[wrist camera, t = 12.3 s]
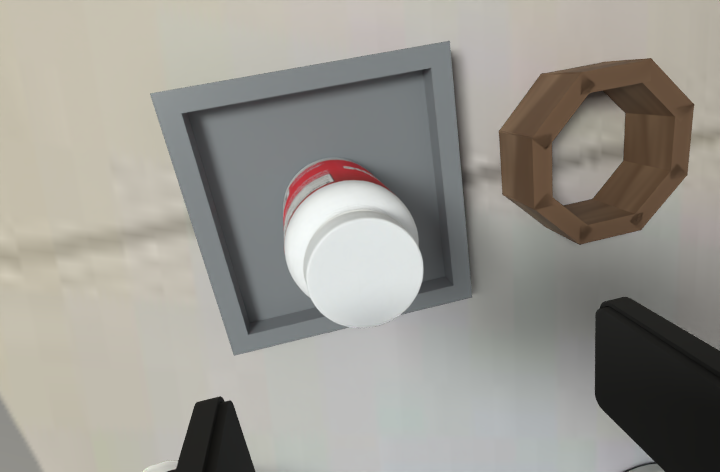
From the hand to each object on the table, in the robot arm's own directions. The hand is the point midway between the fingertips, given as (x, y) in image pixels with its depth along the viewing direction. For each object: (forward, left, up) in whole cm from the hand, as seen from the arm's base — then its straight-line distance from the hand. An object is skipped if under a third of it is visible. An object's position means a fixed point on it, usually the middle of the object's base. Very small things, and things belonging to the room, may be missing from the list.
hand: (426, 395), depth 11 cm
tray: (0, 0, -19) cm, 19 cm away
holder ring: (0, -17, -19) cm, 25 cm away
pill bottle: (0, 0, -18) cm, 18 cm away
